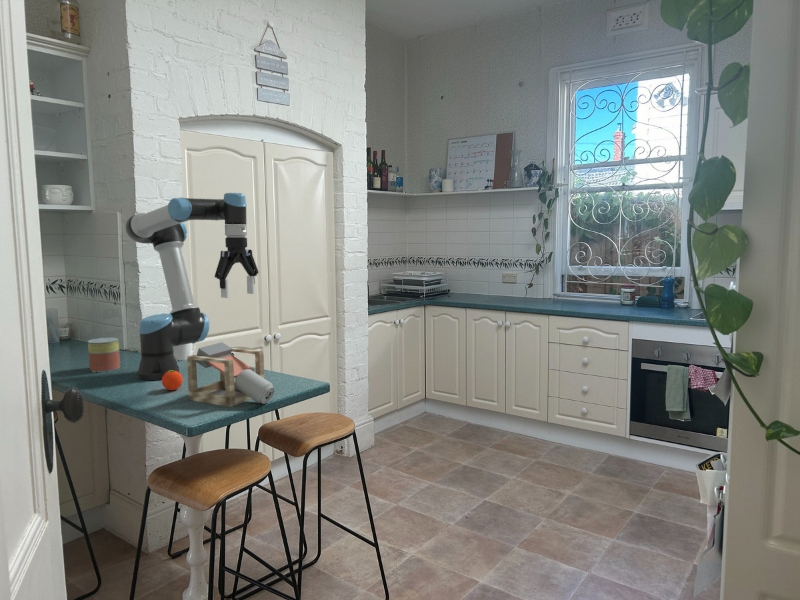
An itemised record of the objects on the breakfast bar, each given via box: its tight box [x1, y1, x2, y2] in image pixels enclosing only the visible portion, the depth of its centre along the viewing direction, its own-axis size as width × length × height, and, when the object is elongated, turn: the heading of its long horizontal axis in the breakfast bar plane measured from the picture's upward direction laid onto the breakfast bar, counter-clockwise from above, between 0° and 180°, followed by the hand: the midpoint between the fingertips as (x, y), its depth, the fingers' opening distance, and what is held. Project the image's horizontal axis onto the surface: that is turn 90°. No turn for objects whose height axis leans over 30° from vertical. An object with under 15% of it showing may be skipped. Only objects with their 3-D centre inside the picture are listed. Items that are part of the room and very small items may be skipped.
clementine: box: [161, 370, 184, 391], centre depth 209 cm, size 8×7×7 cm
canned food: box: [87, 337, 121, 371], centre depth 239 cm, size 11×11×12 cm
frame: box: [186, 346, 265, 408], centre depth 200 cm, size 18×17×15 cm
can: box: [234, 369, 276, 405], centre depth 193 cm, size 8×8×12 cm
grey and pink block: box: [196, 342, 255, 379], centre depth 199 cm, size 16×13×5 cm
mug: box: [173, 343, 197, 362], centre depth 259 cm, size 12×9×9 cm
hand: (238, 295), depth 214 cm, fingers open, 13 cm apart
